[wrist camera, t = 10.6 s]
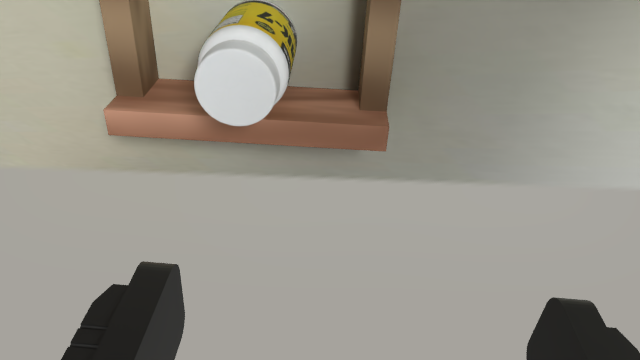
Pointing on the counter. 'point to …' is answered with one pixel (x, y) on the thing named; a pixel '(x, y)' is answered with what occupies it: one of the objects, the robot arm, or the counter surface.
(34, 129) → the counter surface
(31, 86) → the counter surface
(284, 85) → the supplement bottle
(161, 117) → the guide channel
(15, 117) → the counter surface
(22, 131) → the counter surface
